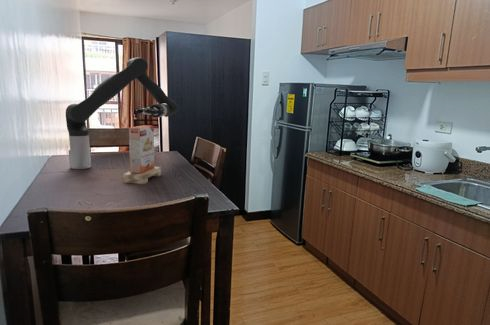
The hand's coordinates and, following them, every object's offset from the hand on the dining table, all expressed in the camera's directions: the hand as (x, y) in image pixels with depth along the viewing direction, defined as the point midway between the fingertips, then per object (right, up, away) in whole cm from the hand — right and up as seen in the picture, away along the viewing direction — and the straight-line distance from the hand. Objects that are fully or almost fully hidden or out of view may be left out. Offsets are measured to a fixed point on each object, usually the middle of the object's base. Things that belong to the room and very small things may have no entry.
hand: (144, 112), depth 170 cm
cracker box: (+4, -30, -16) cm, 35 cm away
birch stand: (+4, -34, -15) cm, 38 cm away
